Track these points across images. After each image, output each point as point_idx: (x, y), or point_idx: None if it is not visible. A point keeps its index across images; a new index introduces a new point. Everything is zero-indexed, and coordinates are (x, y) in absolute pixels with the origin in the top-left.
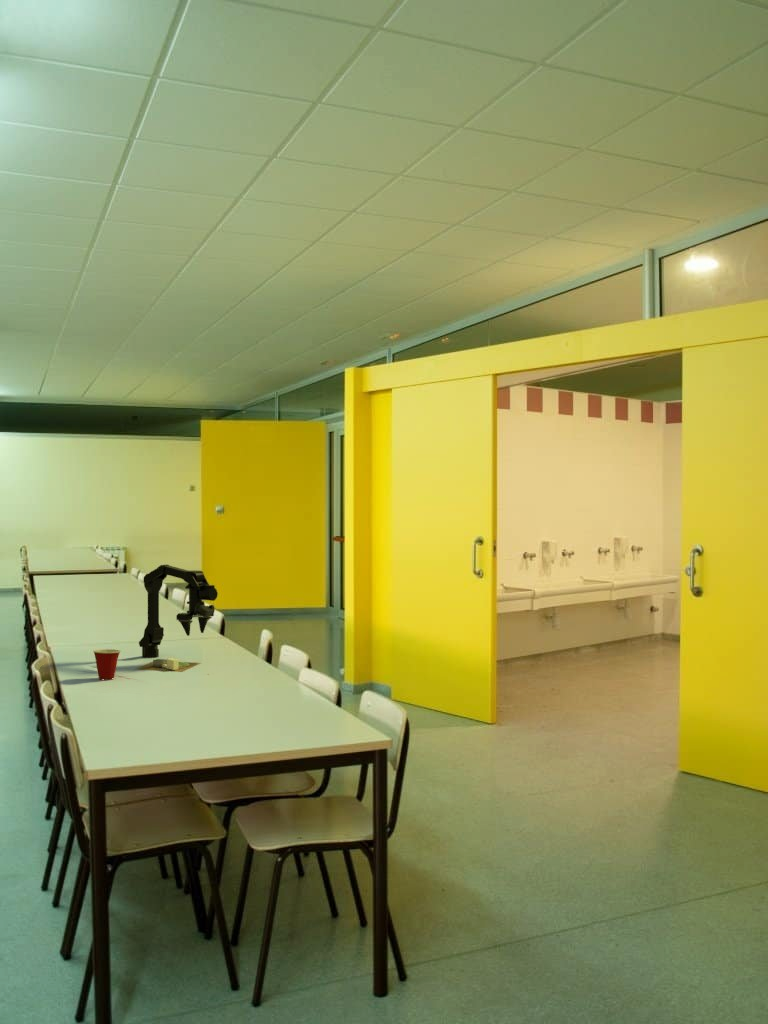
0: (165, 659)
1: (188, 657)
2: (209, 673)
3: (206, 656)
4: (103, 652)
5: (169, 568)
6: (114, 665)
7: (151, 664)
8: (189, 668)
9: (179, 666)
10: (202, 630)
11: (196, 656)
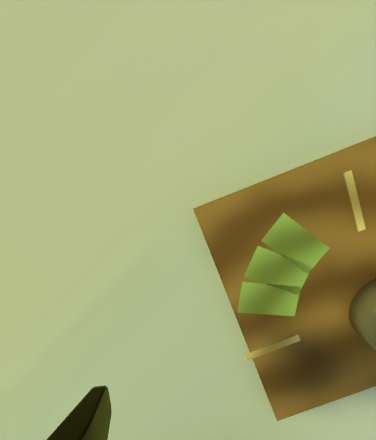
0: (372, 323)
1: None
2: (332, 3)
3: (3, 366)
4: None
5: None
6: None
7: (357, 371)
8: (349, 149)
9: (332, 235)
10: (98, 421)
11: (39, 398)
